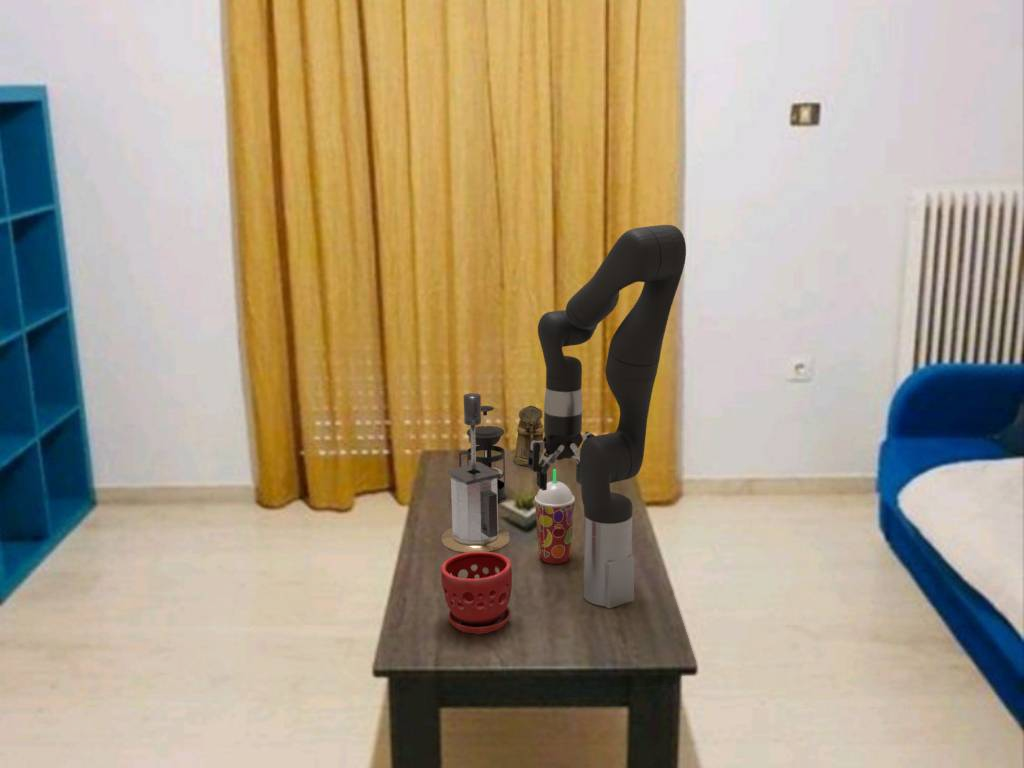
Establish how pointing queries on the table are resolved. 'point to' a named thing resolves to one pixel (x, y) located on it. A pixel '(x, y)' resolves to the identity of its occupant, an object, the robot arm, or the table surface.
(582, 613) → the table surface
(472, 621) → the plant pot
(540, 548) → the smoothie
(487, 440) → the french press
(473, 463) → the plunger
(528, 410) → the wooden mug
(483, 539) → the press carafe
